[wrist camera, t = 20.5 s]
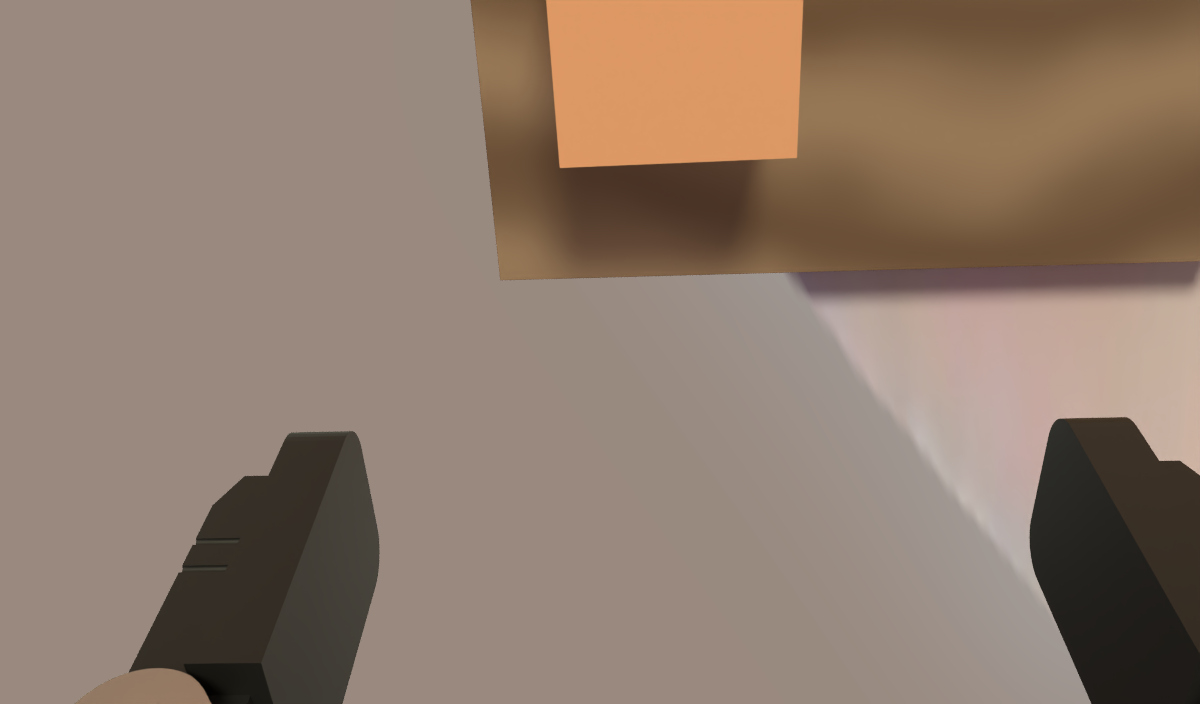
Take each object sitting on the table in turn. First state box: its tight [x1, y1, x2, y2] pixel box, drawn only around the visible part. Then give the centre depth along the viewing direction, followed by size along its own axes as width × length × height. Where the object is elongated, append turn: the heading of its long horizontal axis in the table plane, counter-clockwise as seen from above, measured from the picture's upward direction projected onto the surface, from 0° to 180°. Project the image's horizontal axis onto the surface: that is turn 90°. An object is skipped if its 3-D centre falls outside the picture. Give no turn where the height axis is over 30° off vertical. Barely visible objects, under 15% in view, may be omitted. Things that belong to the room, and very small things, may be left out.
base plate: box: [471, 0, 1200, 280], centre depth 30 cm, size 18×24×6 cm
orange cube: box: [546, 0, 803, 168], centre depth 29 cm, size 6×6×6 cm
